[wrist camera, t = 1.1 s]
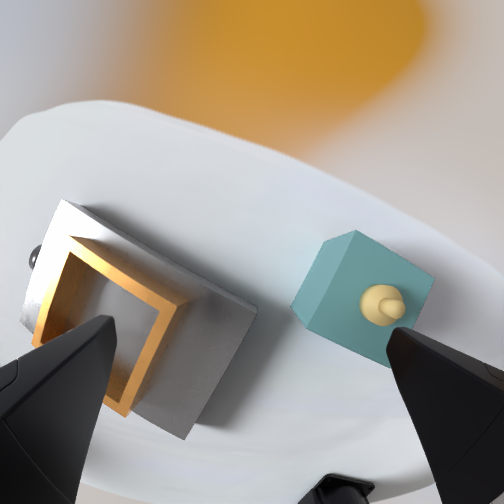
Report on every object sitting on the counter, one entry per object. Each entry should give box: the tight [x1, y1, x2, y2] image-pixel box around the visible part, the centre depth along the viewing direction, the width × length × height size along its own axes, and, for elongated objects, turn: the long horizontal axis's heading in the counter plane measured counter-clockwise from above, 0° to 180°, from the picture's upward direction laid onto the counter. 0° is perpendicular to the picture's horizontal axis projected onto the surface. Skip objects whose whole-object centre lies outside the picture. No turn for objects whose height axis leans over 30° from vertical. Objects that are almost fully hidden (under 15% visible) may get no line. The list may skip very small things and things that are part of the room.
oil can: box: [290, 230, 435, 368], centre depth 17 cm, size 6×6×11 cm
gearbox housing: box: [20, 199, 258, 440], centre depth 20 cm, size 19×12×6 cm, turn 62°
